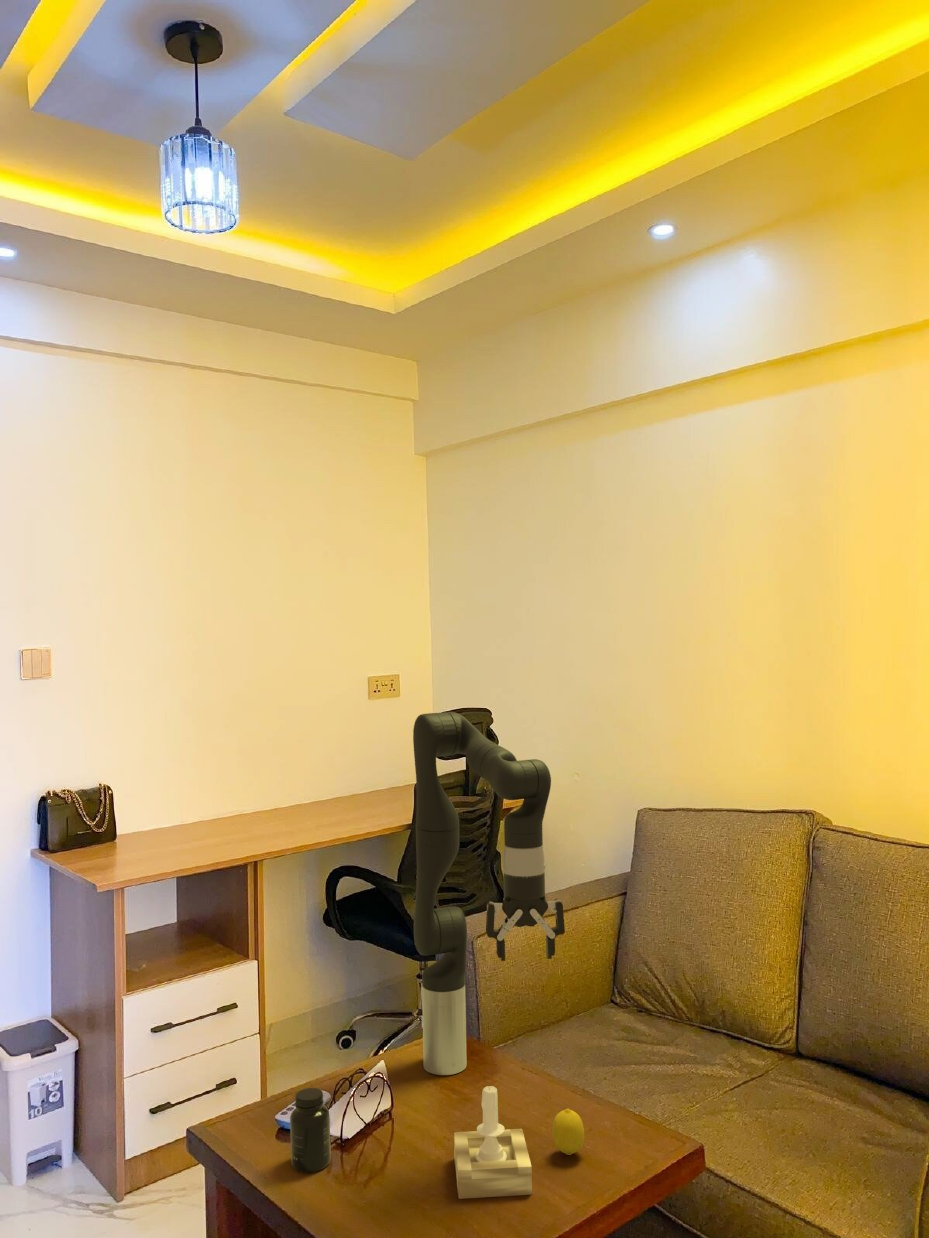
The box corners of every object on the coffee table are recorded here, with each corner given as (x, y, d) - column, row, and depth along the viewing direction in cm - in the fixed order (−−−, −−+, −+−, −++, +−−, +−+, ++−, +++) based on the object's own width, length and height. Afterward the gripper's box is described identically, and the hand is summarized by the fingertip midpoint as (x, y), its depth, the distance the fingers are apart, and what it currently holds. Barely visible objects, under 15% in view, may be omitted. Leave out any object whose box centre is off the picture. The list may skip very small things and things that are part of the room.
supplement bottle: (315, 1148, 169) (314, 1080, 169) (338, 1162, 164) (337, 1092, 164) (283, 1163, 164) (282, 1093, 164) (305, 1178, 159) (304, 1107, 160)
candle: (483, 1168, 156) (482, 1095, 156) (470, 1152, 161) (469, 1081, 161) (512, 1161, 158) (511, 1089, 158) (498, 1146, 163) (497, 1075, 163)
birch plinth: (454, 1158, 165) (454, 1132, 165) (522, 1154, 166) (522, 1128, 166) (458, 1198, 153) (458, 1170, 153) (532, 1194, 154) (531, 1166, 154)
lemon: (549, 1160, 163) (548, 1114, 164) (557, 1144, 169) (556, 1099, 169) (580, 1166, 162) (579, 1119, 162) (587, 1149, 167) (586, 1103, 167)
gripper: (559, 863, 177) (560, 950, 177) (483, 865, 176) (485, 953, 176) (566, 873, 170) (567, 964, 169) (487, 875, 169) (488, 967, 168)
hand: (525, 958), depth 172 cm, fingers open, 8 cm apart
